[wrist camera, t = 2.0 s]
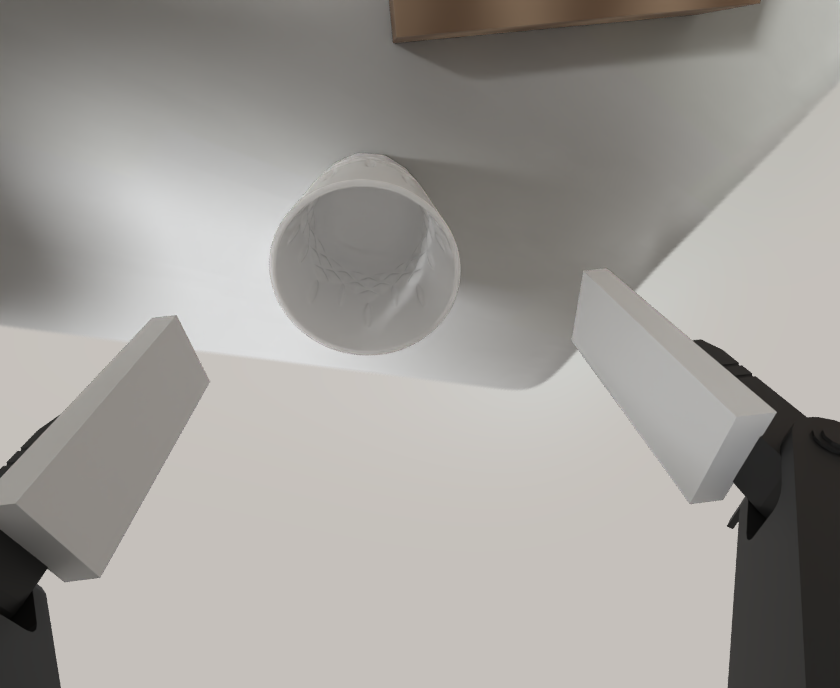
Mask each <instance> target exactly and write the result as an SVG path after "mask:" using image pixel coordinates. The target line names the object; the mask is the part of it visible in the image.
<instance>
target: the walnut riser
mask: <svg viewBox="0 0 840 688" xmlns="http://www.w3.org/2000/svg"><path fill="white" fill-rule="evenodd" d="M760 1H761V0H389V6H390V16H391V27H392V37H393V43H401V42H412V41H422V40H433V39H443V38H454V37H465V36H475V35H486V34H496V33H507V32H518V31H528V30H539V29H549V28H560V27H571V26H581V25H592V24H602V23H613V22H624V21H634V20H645V19H655V18H666V17H676V16H687V15H698V14H703V13H709V12H714V11H720V10H725V9H731V8H736V7H742V6H747V5H753V4H758V3H760Z"/></svg>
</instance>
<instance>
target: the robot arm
mask: <svg viewBox="0 0 840 688" xmlns="http://www.w3.org/2000/svg"><path fill="white" fill-rule="evenodd" d="M572 342H573V343H574V345H575V346H576V347H577V349H578V350H579V352H580V353H581V354H582V356H583V357H584V358H585V360H586V361H587V363H588V364H589V365H590V367H591V368H592V370H593V371H594V372H595V374H596V375H597V376H598V378H599V379H600V380H601V382H602V383H603V385H604V386H605V387H606V389H607V390H608V391H609V393H610V394H611V396H612V397H613V399H614V400H615V401H616V403H617V404H618V405H619V407H620V408H621V410H622V411H623V412H624V414H625V415H626V416H627V418H628V419H629V421H630V422H631V423H632V425H633V426H634V428H635V429H636V430H637V432H638V433H639V434H640V436H641V437H642V439H643V440H644V441H645V443H646V444H647V446H648V447H649V448H650V450H651V451H652V452H653V454H654V455H655V457H656V458H657V459H658V461H659V462H660V463H661V465H662V466H663V468H664V469H665V470H666V472H667V473H668V474H669V476H670V477H671V478H672V480H673V481H674V483H675V484H676V486H677V487H678V488H679V490H680V491H681V493H682V494H683V495H684V497H685V498H686V499H687V501H688V502H689V504H694V503H702V502H710V501H717V500H723V499H724V498H725V496H726V494H727V493H728V491H729V489H730V487H731V486H732V484H733V483H734V484H735V485H736V486H737V487H738V488H739V489H740V491H741V492H742V493H743V494H744V495H745V498H744V499H743V501H742V502H741V504H740V505H739V507H738V508H737V510H736V511H735V513H734V514H733V516H732V518H731V519H730V521H729V523H728V525H727V527H729V528H732V529H733V528H734V527H735V525H736V524H737V522H739V528H738V543H737V558H736V573H735V589H734V602H733V618H732V632H731V633H732V634H731V648H730V662H729V677H728V688H840V422H837V421H835V420H830V419H825V418H819V417H809V418H808V417H806V416H804V415H803V414H802V413H801V412H799V411H798V410H797V409H796V408H794V407H793V406H792V405H791V404H790V403H788V402H787V401H786V400H785V399H783V398H782V397H781V396H779V395H778V394H777V393H776V392H775V391H773V390H772V389H771V388H769V387H768V386H767V385H766V384H764V383H763V382H762V381H761V380H759V379H758V378H757V377H753V376H752V373H751V372H750V371H748V370H747V369H746V368H744V367H743V366H739V363H738V362H737V361H736V360H734V359H733V358H732V357H731V356H729V355H728V354H727V353H726V352H724V351H723V350H722V349H720V348H718V347H715V346H713V345H711V344H709V343H707V342H705V341H703V340H691V339H690V338H689V337H688V336H686V335H685V334H684V333H683V332H682V331H680V330H679V329H678V328H677V327H676V326H674V325H673V324H672V323H671V322H670V321H668V320H667V319H666V318H665V317H664V316H663V315H662V314H660V313H659V312H658V311H657V310H656V309H654V308H653V307H652V306H651V305H650V304H648V303H647V302H646V301H645V300H644V299H643V298H641V297H640V296H639V295H638V294H637V293H636V292H634V291H633V290H632V289H631V288H630V287H628V286H627V285H626V284H625V283H624V282H623V281H621V280H620V279H619V278H618V277H617V276H615V275H614V274H613V273H612V272H611V271H610V270H608V269H607V268H601V269H592V270H583V276H582V282H581V287H580V293H579V299H578V305H577V311H576V317H575V322H574V328H573V334H572ZM209 383H210V381H209V379H208V377H207V375H206V373H205V371H204V369H203V367H202V365H201V363H200V361H199V359H198V357H197V355H196V353H195V351H194V349H193V347H192V345H191V343H190V341H189V339H188V337H187V335H186V333H185V331H184V329H183V327H182V325H181V323H180V321H179V319H178V317H177V315H174V316H165V317H156V318H152V319H151V320H150V321H149V322H148V323H147V324H146V325H145V326H144V327H143V328H142V329H141V330H140V331H139V332H138V333H137V334H136V335H135V337H134V338H133V339H132V340H131V341H130V342H129V343H128V344H127V345H126V346H125V347H124V348H123V349H122V350H121V351H120V352H119V353H118V355H117V356H116V357H115V358H114V359H113V360H112V361H111V362H110V363H109V364H108V365H107V366H106V367H105V368H104V369H103V370H102V371H101V372H100V373H99V375H98V376H97V377H96V378H95V379H94V380H93V381H92V382H91V383H90V384H89V385H88V386H87V387H86V388H85V389H84V390H83V391H82V392H81V394H80V395H79V396H78V397H77V398H76V399H75V400H74V401H73V402H72V403H71V404H70V405H69V406H68V407H67V408H66V409H65V411H63V412H62V414H60V415H59V416H58V417H56V418H55V419H53V420H52V421H50V422H49V423H48V424H46V425H45V426H43V427H42V428H40V429H39V430H38V431H37V432H36V433H35V434H34V435H33V436H32V437H31V438H30V439H29V440H28V441H27V442H26V443H25V444H24V445H23V446H22V447H21V451H17V452H16V453H15V454H14V455H13V456H12V457H11V459H9V460H8V461H7V466H3V467H2V468H1V469H0V688H61V687H60V680H59V674H58V667H57V661H56V655H55V648H54V642H53V636H52V629H51V623H50V616H49V610H48V604H47V598H46V593H45V592H44V590H43V589H42V587H40V586H39V585H38V584H37V583H38V582H39V580H40V579H41V577H42V576H43V574H44V573H45V571H46V570H47V569H49V570H50V571H51V572H53V573H54V574H55V575H56V576H57V577H59V578H60V579H61V580H62V581H64V582H70V581H77V580H86V579H94V578H100V577H101V575H102V573H103V572H104V570H105V568H106V566H107V565H108V563H109V561H110V559H111V558H112V556H113V554H114V552H115V550H116V549H117V547H118V545H119V543H120V542H121V540H122V538H123V536H124V534H125V533H126V531H127V529H128V527H129V525H130V524H131V522H132V520H133V518H134V516H135V515H136V513H137V511H138V509H139V507H140V506H141V504H142V502H143V500H144V499H145V497H146V495H147V493H148V491H149V490H150V488H151V486H152V484H153V483H154V481H155V479H156V477H157V475H158V474H159V472H160V470H161V468H162V466H163V464H164V463H165V461H166V459H167V458H168V456H169V454H170V452H171V450H172V448H173V447H174V445H175V443H176V441H177V440H178V438H179V436H180V434H181V433H182V430H183V429H184V427H185V425H186V424H187V422H188V420H189V418H190V416H191V415H192V413H193V411H194V409H195V408H196V406H197V404H198V402H199V400H200V399H201V397H202V395H203V393H204V391H205V389H206V388H207V386H208V384H209Z"/></svg>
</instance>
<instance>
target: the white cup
mask: <svg viewBox="0 0 840 688" xmlns="http://www.w3.org/2000/svg"><path fill="white" fill-rule="evenodd" d="M269 272H270V279H271V284H272V288H273V291H274V294H275V296H276V298H277V301H278V303H279V304H280V306H281V308H282V310H283V311H284V313H285V314H286V315H287V317H288V318H289V319H290V320H291V321H292V323H293V324H294V325H295V326H296V327H297V328H298V329H300V330H301V331H302V332H303V333H304V334H306V335H307V336H308V337H310V338H311V339H313V340H315V341H316V342H318V343H320V344H322V345H324V346H326V347H329V348H331V349H334V350H337V351H340V352H344V353H349V354H356V355H380V354H387V353H392V352H396V351H399V350H402V349H405V348H407V347H409V346H412V345H414V344H415V343H417V342H419V341H421V340H422V339H424V338H425V337H426V336H428V335H429V334H430V333H431V332H433V331H434V330H435V329H436V328H437V327H438V326H439V325H440V324H441V322H442V321H443V320H444V319H445V317H446V316H447V314H448V313H449V311H450V309H451V307H452V305H453V303H454V301H455V299H456V296H457V292H458V289H459V284H460V274H461V266H460V257H459V252H458V248H457V245H456V242H455V239H454V237H453V235H452V232H451V231H450V229H449V227H448V225H447V224H446V222H445V221H444V219H443V218H442V216H441V215H440V213H439V212H438V210H437V209H436V207H435V206H434V204H433V203H432V201H431V200H430V198H429V197H428V195H427V193H426V192H425V190H424V189H423V188H422V187H421V186H420V184H419V183H418V182H417V181H416V179H415V178H414V177H413V176H411V175H410V173H409V172H408V170H407V169H406V168H404V167H403V166H401V165H400V164H398V163H396V162H395V161H393V160H391V159H390V158H388V157H387V156H385V155H380V154H367V153H356V154H353V155H351V156H349V157H347V158H344V159H342V160H340V161H338V162H335V163H333V165H332V166H331V167H330V168H329V169H327V170H326V171H325V172H324V173H323V174H321V175H320V176H319V177H318V178H317V179H316V180H315V181H314V182H313V183H312V185H311V186H310V187H309V188H308V189H307V191H306V192H305V193H304V194H303V195H302V197H301V198H300V199H299V200H298V201H297V203H296V204H295V205H294V206H293V207H292V208H291V210H290V211H289V212H288V213H287V214H286V216H285V217H284V218H283V220H282V221H281V223H280V225H279V227H278V229H277V231H276V233H275V235H274V238H273V241H272V245H271V250H270V257H269Z"/></svg>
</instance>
